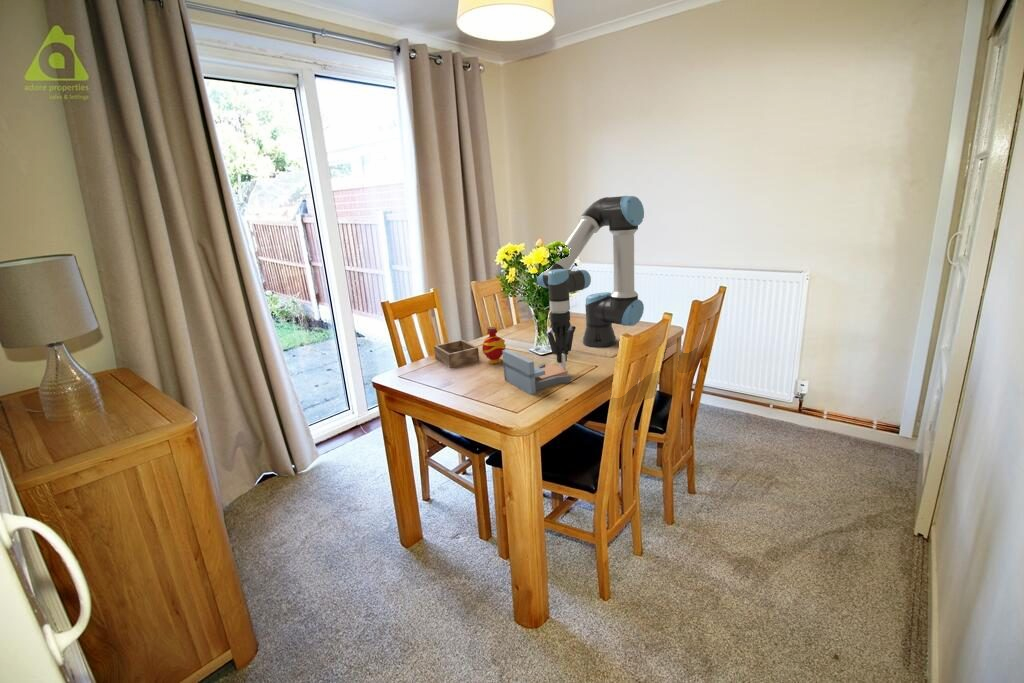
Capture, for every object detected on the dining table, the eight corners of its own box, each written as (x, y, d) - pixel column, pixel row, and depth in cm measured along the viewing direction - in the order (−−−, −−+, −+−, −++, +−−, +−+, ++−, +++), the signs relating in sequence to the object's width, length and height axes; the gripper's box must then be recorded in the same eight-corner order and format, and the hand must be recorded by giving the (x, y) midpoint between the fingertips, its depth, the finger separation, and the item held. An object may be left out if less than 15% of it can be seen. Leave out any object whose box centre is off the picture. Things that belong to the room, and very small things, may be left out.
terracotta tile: (554, 371, 190) (553, 364, 189) (567, 378, 182) (567, 370, 181) (528, 379, 184) (528, 371, 183) (541, 385, 177) (541, 378, 176)
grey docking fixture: (543, 369, 193) (542, 340, 190) (572, 382, 177) (571, 351, 174) (504, 379, 184) (502, 350, 181) (531, 394, 169) (528, 362, 165)
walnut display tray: (463, 351, 224) (461, 339, 222) (479, 360, 209) (478, 347, 208) (435, 358, 217) (433, 345, 215) (450, 367, 203) (448, 354, 201)
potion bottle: (486, 366, 201) (482, 332, 197) (481, 359, 211) (477, 326, 206) (509, 362, 204) (507, 329, 199) (503, 356, 213) (501, 323, 209)
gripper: (567, 306, 185) (569, 363, 192) (539, 312, 179) (543, 371, 186) (579, 309, 179) (581, 368, 186) (551, 315, 173) (554, 376, 179)
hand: (562, 369), depth 186 cm, fingers closed
